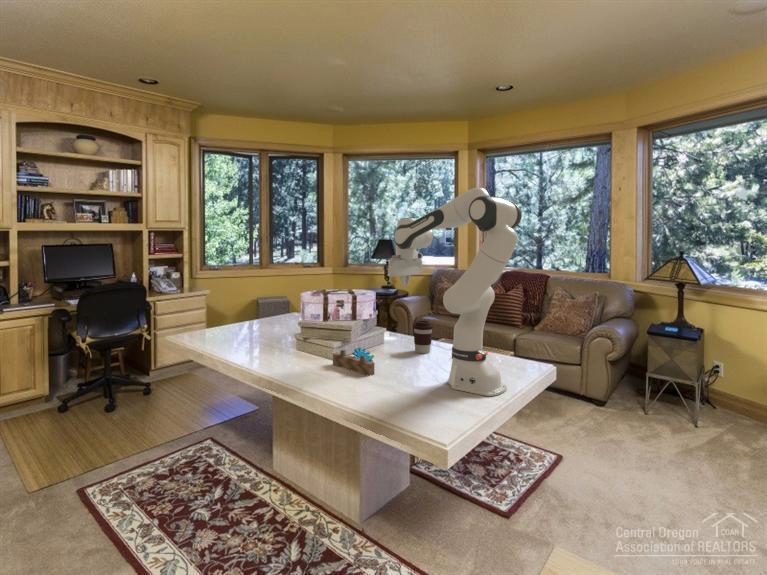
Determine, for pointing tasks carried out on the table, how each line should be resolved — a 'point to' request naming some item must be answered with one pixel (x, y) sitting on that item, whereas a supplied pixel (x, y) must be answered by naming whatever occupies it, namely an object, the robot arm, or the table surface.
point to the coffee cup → (422, 336)
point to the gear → (368, 358)
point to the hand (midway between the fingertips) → (405, 285)
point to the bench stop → (353, 363)
